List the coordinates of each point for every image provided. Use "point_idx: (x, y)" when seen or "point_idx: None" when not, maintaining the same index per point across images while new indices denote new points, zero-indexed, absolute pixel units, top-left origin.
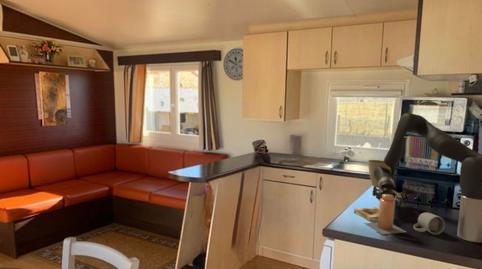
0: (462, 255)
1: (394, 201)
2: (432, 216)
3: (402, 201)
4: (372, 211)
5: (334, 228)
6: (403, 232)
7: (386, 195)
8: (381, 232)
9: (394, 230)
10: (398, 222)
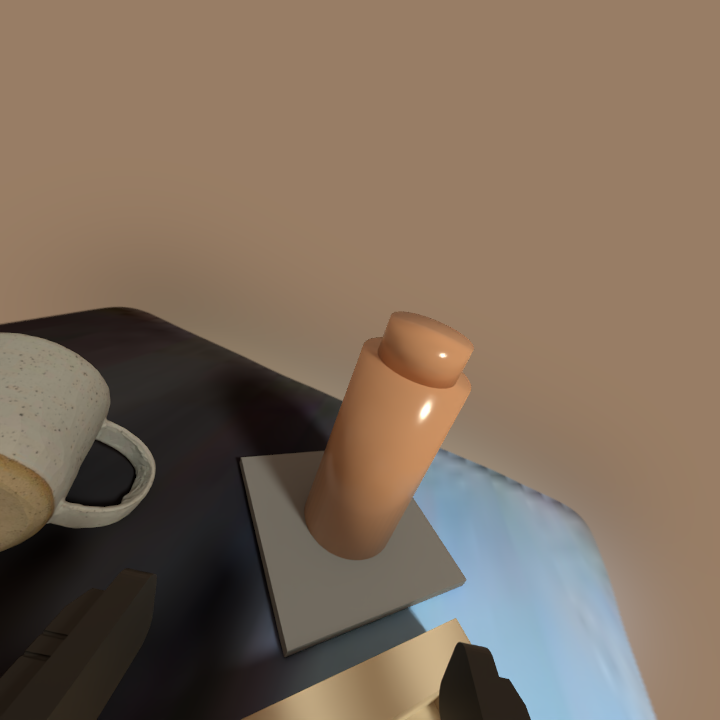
0: (154, 321)
1: (371, 342)
2: (49, 351)
3: (68, 608)
4: None
5: (565, 518)
6: (264, 456)
7: (442, 332)
8: None
9: (305, 476)
10: (137, 712)
